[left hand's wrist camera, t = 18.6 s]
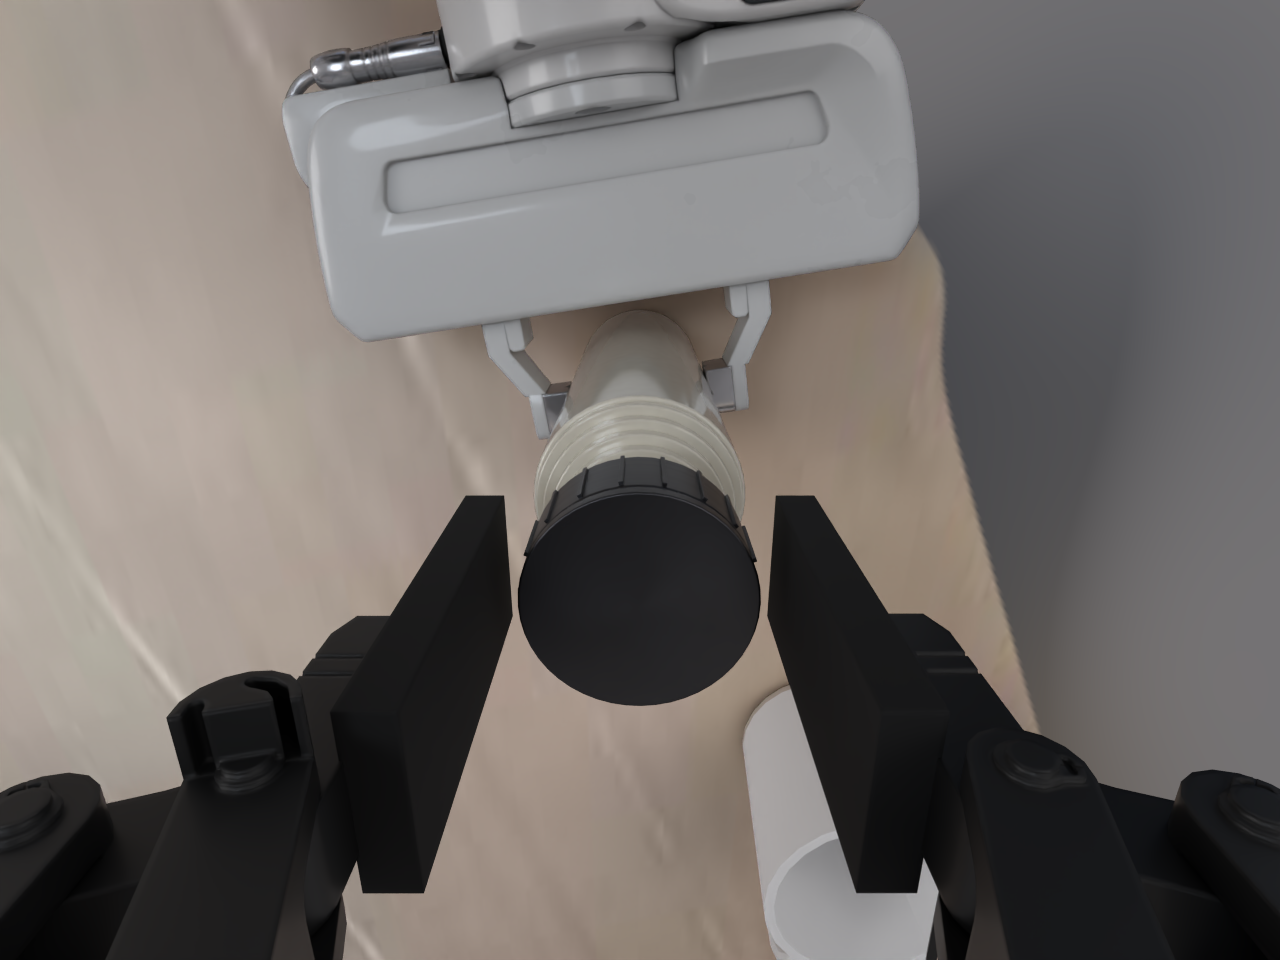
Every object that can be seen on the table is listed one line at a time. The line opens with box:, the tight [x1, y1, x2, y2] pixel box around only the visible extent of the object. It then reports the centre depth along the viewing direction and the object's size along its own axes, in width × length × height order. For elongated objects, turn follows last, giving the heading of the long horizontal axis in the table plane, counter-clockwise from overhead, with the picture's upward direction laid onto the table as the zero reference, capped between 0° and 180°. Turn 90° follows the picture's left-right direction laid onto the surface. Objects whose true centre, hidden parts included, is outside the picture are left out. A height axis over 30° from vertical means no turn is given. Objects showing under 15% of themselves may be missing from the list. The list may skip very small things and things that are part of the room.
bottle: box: [534, 310, 745, 522], centre depth 23 cm, size 5×5×21 cm
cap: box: [518, 456, 761, 706], centre depth 14 cm, size 4×4×2 cm
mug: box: [742, 685, 939, 960], centre depth 35 cm, size 11×9×10 cm
